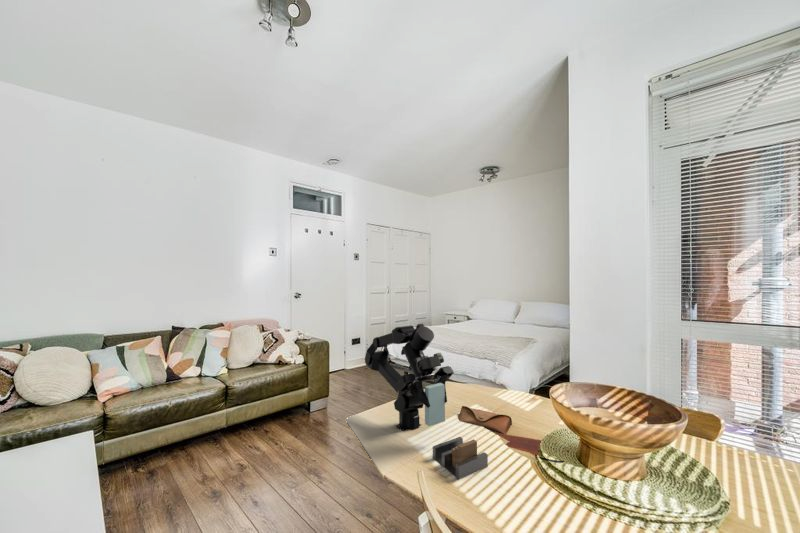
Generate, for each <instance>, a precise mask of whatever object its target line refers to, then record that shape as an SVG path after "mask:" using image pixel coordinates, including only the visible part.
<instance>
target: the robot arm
mask: <svg viewBox="0 0 800 533" xmlns="http://www.w3.org/2000/svg"><path fill="white" fill-rule="evenodd" d="M415 326H416V327H415V328H414V326H413V325H405V326H396V327H395V328H393V329H392V330H391V332H390V333H387V334H385V335H380V336H376V337H374V338H373V340H372V343H371V345H370V346H369V347H368V348H367V349H366V352H365V357H364V363H365V365H366V366H367V367H368V368H369V369H370V370H372V371H376V372H378V373H379V374H380V375H381V376H382V377H383V378H384V379H385V381H386V382H387V383H388V384H389V385H390V386H391V388H392V389H394V391H395V392H396V393H397V397H396V399H395V401H393V406H394V410H396V411H397V412H398V415H399V416H398V419H399V420H398V422H399V423H397V424H396V425H395V427H396V428H398V429H400V430H401V431H408V430H413V431H414V430H415V431H416V430H417V429H419V428H420V427H421V426H422V424H420V414H419V413H420V412H419V411H420V410H419V409H423V408H424V407H425V406H426V407H427V408H429V407H430V404H429V401H428V399H427V396H426V394H425V389H424V388H423V383H424V382H430V381H433V382H434V384H437V383H442V384H444V385H445V386H446V383H447V381H448V380H449V379H450V378H451V377H452V376H453V374H454V369H453V368H452V367H451V366H449V365H447V366H442V363H444V362H445V359H444V356H443V354H442V353H441V352H436V353H434V354H433V356H428V355H425V354H424V351H425V350H426V349H427V348H428V347H429V345H430V344H431V343H432V341H433V340H434V338H435V333H434V331H433V330H432V329H431V328H429V327H428V326H425V325H424V323H418V324H416V325H415ZM402 344H405V345H404V346H402V349H401V351H400V355H401V356H403V355H404V356H405V357H406V360H407V362H408V363H409V364H408V365H409V366H408V370H409V371H412V373H407V374H404V375H403V374H402V375H401V374H400V373H399V372H398V371H397V370H396V369H395V367H393V366H392V365H391V364H390V363H389V354H390V352H389V349H388V346H389V345H402ZM378 348H383V350H378ZM441 366H442V367H441ZM437 367H439V368H438V370H437V369H436V368H437ZM436 370H437V371H436ZM435 371H436V372H435ZM446 389H447V388H446V387H445V404H447V402H448V398H447V390H446Z"/></svg>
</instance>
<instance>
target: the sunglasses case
mask: <svg viewBox="0 0 800 533" xmlns="http://www.w3.org/2000/svg"><path fill="white" fill-rule="evenodd" d="M458 421H459V422H462V423H465V424H469V425H473V426H474V425H475V426H479V427H482V428H484V429H486V430H488V431H490V432H493V433H499V434H506V435H508V432H509V430H510V428H511V426H512V425H513V420H512V417H511V416H509V415H508V414H499V413H495V412H491V411H487V410H483V409H482V410H481V409H477V408H473V407H472V408H471V407H469V406H465V405H463V406H461V408H460V411H459V415H458Z"/></svg>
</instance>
